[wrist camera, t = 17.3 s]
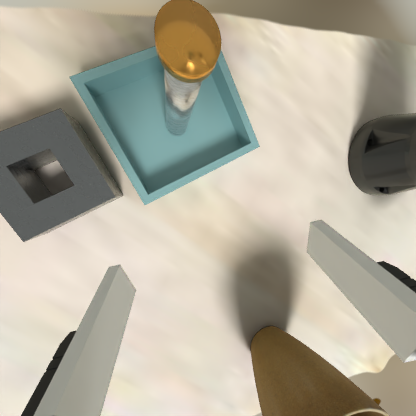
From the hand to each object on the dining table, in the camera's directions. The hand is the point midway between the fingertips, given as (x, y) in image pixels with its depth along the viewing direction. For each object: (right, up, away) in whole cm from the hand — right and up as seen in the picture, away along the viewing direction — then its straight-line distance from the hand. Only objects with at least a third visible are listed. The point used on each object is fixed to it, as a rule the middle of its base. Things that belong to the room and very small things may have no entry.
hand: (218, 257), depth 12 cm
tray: (-6, +16, +14) cm, 21 cm away
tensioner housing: (-20, +7, +11) cm, 24 cm away
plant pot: (+11, -23, +22) cm, 34 cm away
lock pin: (-5, +15, +13) cm, 21 cm away
